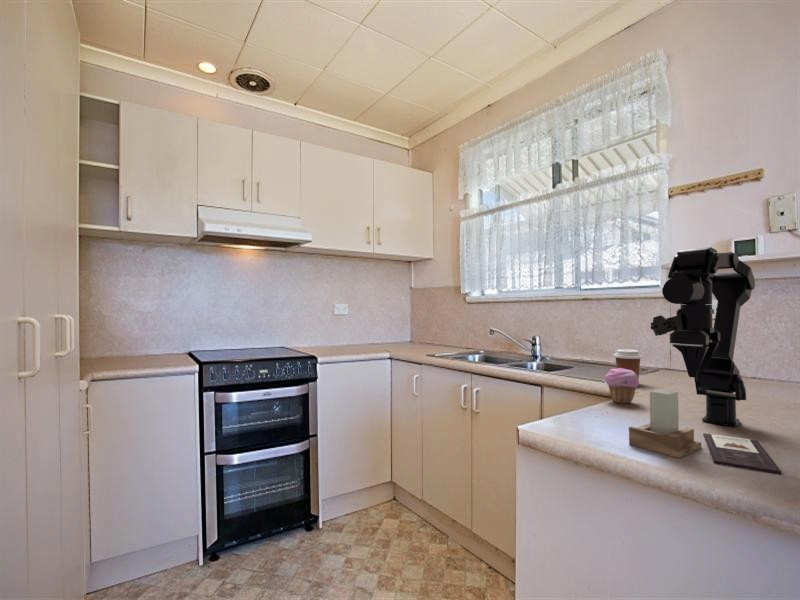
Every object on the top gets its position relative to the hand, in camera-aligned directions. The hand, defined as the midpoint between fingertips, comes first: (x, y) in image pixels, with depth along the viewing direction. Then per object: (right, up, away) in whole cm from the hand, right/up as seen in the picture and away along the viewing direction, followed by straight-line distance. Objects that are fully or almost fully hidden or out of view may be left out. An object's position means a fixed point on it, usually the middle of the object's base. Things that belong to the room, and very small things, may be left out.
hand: (696, 374), depth 89 cm
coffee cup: (+17, -14, +56) cm, 61 cm away
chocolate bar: (0, -14, -11) cm, 18 cm away
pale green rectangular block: (-12, -12, -8) cm, 19 cm away
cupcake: (0, -14, +29) cm, 32 cm away
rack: (-12, -13, -8) cm, 19 cm away
